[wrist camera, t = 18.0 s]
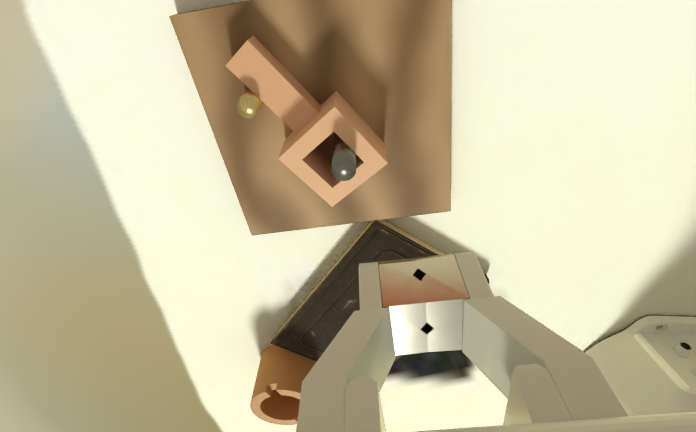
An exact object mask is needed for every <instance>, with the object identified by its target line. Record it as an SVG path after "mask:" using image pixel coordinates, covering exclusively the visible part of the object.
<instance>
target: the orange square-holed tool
mask: <svg viewBox="0 0 696 432" xmlns="http://www.w3.org/2000/svg"><path fill="white" fill-rule="evenodd" d="M226 67H227V68H228V69H229V70H230V71H231V72H232V73H233V74H234V75H235V76H236V77H238V78H239V79H240V80H241V81H242V82H243V83H244V84H245V85H246V86H247V87H248V88H249V89H250V90H251V91H252V92H253V93H254V94H255V95H256V96H257V97H258V98H259V99H260V100H261V101H263V102H264V103H265V104H266V105H267V106H268V107H269V108H270V109H271V110H272V111H273V112H274V113H275V114H276V115H277V116H278V117H279V118H280V119H281V120H282V121H283V122H284V123H285V124H287V125H288V126H289V127H290V128H291V129H292V130H293V132H292V133H291V134H290V135H289V136H288V137H286V138H285V141H284V144H283V147H282V149H281V152H280V155H279V158H278V159H279V160H280V161H281V162H282V163H283V164H284V165H286V166H287V167H288V168H289V169H290V170H291V171H292V172H293V173H295V174H296V175H297V176H298V177H299V178H300V179H301V180H302V181H303V182H305V183H306V184H307V185H308V186H309V187H310V188H311V189H312V190H313V191H315V192H316V193H317V194H318V195H319V196H320V197H321V198H322V199H324V200H325V201H326V202H327V203H328V204H329V205H330V206H331V207H333V206H334V205H335V204H337V203H338V202H339V201H340V200H342V199H343V198H344V197H346V196H347V195H348V194H349V193H351V192H352V191H353V190H355V189H356V188H357V187H358V186H360V185H361V184H362V183H364V182H365V181H366V180H367V179H369V178H370V177H371V176H372V175H374V174H375V173H376V172H378V171H379V170H380V169H381V168H383V167H384V166H385V165H387V164H388V161H387V156H386V151H385V146H384V142H383V141H382V140H381V139H380V138H379V137H378V136H377V135H376V134H375V132H374V131H373V130H372V129H371V128H370V127H369V126H368V125H367V124H366V123H365V121H364V120H363V119H362V118H361V117H360V116H359V115H358V114H357V113H356V112H355V111H354V109H353V108H352V107H351V106H350V105H349V104H348V103H347V102H346V101H345V100H344V99H343V97H342V96H341V95H340V94H339V93H338V92H337V91H335V92H334V93H333V94H332V95H331V96H330V97H329V98H328V99H327V100H326V101H325V102H324V103H322V104H321V105H320V104H319V103H318V102H317V101H316V100H315V99H314V98H313V97H312V96H311V95H310V94H309V93H308V92H307V91H306V90H305V88H304V87H303V86H302V85H301V84H300V83H299V82H298V81H297V80H296V79H295V78H294V77H293V76H292V75H291V74H290V73H289V72H288V71H287V70H286V69H285V68H284V67H283V66H282V65H281V63H280V62H279V61H278V60H277V59H276V58H275V57H274V56H273V55H272V54H271V53H270V52H269V51H268V50H267V49H266V48H265V47H264V46H263V45H262V44H261V43H260V42H259V41H258V40H257V38H256V37H255V36H254V35H253V36H252V37H251V38H249V39H248V40H247V41H246V42H245V43H244V45H243V46H242V47H241V48H240V49H239V50H238V52H237V53H236V54H235V55H234V56H233V57H232V59H231V60H230V61H229V62H228V63H227V64H226ZM333 132H335V133H336V134H337V135H338V136H339V137H340V138H341V139H342V140H343V141H344V142H345V143H346V144H347V145H348V146H349V147H350V148H351V149H352V150H353V151H354V152H355V153H356V174H355V176H354V177H353V178H352V179H350V180H347V181H340V180H338V179H336V178H335V177H334V176H333V174H332V172H331V167H332V163H331V162H330V161H329V160H328V159H327V158H326V157H325V156H324V155H323V154H322V153H321V152H319V151H318V150H317V149H316V147H317V146H318V145H319V144H320V143H321V142H323V141H324V140H325V139H326V138H327V137H328V136H329V135H330V134H332V133H333Z"/></svg>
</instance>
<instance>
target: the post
mask: <svg viewBox="0 0 696 432" xmlns="http://www.w3.org/2000/svg"><path fill="white" fill-rule="evenodd" d="M331 172H332V174H333V176H334V177H335V178H336V179H338V180H340V181H347V180H350V179H352V178H353V177H354V176H355V174H356V153H355V152H354V151H353V150H352V149H351V148H350V147H349V146H348V145H347V144H346V143H345V142H344V141H343V140H342V139H341V138H340V137H339V136H338V135H337V134H336V133H335V135H334V145H333V156H332V167H331Z"/></svg>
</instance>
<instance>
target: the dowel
mask: <svg viewBox="0 0 696 432" xmlns="http://www.w3.org/2000/svg"><path fill="white" fill-rule="evenodd" d="M263 103H264V102H263V101H261V100H260V99H259V98H258V97H257V96H256V95H255V94H254V93H253V92H252V91H251V90H250V89H249V88H248V89H247V90H246V91H245V92H244V94H243V95H242V96H241V97H240V99H239V100H238V101H237V104H236V108H237V111H238V113H239V114H240V115H241V116H243V117H245V118H253V117H255V116H256V115H257V113H258V112H259V110H260V108H261V107H262V105H263Z"/></svg>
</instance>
